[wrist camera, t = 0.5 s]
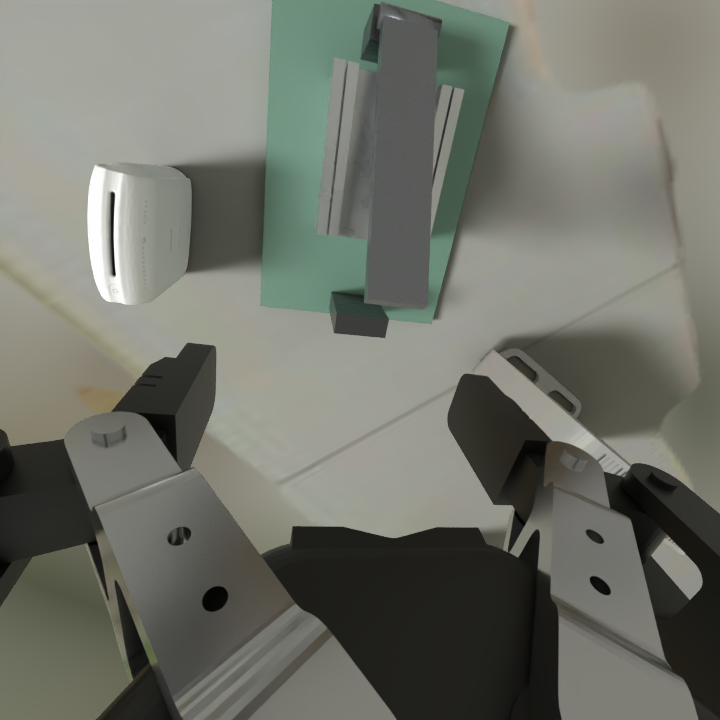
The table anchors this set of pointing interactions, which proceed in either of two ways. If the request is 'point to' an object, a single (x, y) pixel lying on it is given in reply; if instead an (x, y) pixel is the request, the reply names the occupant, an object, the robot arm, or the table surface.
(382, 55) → the grey flat bar
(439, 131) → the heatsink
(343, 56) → the mainboard
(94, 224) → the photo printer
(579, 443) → the network device
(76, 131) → the table surface
